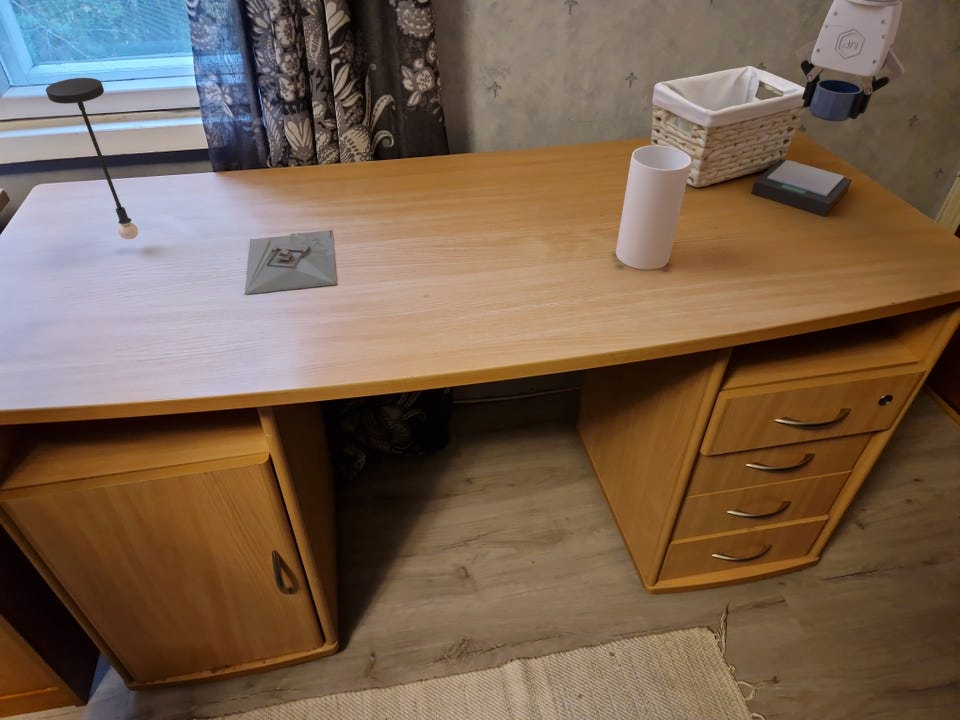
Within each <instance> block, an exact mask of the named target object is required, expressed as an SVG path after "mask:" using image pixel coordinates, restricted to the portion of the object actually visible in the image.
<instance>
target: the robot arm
mask: <svg viewBox="0 0 960 720" xmlns="http://www.w3.org/2000/svg"><path fill="white" fill-rule="evenodd" d="M903 4H904V3H903V1H901V0H833V1H832V3H831V6H830V8H829V9H828V12H827V15H826V16H825V19H824V21H823V24H822V26H821V28H820V31H819V34H818V36H817V38H815V39H813V40H811V41H809V42H808V43H806V44H804V45H802V46H801V47H798V48H797V49H796V50H795V55H796V58H797V61H798V63H799V64H800V68H801V70H802V72H803V74H804V76H805V80H806V84H805V86H804V88H805V90H804V94H803V97H802V99H803V100H805V101H804V104H803V107H805V109H806V108H809V104H810V101H811V98H812V95H813V92H814V89H815V86H816V83H817V82H818V81H820V80H821V78H820V76H821V74H822V73H823V71H824V70H827V71H830V72H831V71H832V72H834V73H835V72H836V73H840V74H845V75H850V76H854V77H860V78H861V81H862V89H863V90H862V92H861V93H859V95H858V98H857V100H856V103H855V106H854V108H853V111H852V114H851V116H850V118H849V119H851V120H856V119H857V118H858V117H860V115H861V114H862V115H863V114H864V113H865V112H866V111H867V108H868V105H869V103H870V100H871V98H872V95H873V93H874V92H876V91H879V90H880V89H882V88H884V87H886V86H887V85H888V84H890V83H891V82H894V81H895V80H897V79H898V78H899V77H901V76H902V75H903V74H904V73H905V71H906V69H905V68H904V66H903V64H902V63H901V61H900V59H899V58H898V57H897V54H896V53H895V51H894V50H893V49H892V48H893V45H894V42H895V38H896V35H897V31H898V27H899V24H900V20H901V15H902V10H903ZM810 52H812V53H811V56H810V55H809V54H810ZM885 66H887V67H888V69H889V72H888V73H887V74H885V75H884V76H882V77H880V78H878V76H877V75H878V74H879V72H881V70H883V69H884V68H885Z"/></svg>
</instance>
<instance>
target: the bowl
mask: <svg viewBox="0 0 960 720" xmlns="http://www.w3.org/2000/svg"><path fill="white" fill-rule="evenodd" d="M862 90H863V86H860V85H859V84H857V83H854V82H853V81H852V82H851V81H849V80H843V79H835V78H826V79H820V81H818V82H817V83H816V86H815V89H814V92H813V95H812V98H811V101H810V104H809V107H808V111H809V112H810V115H812V116H813V117H815V118H817V119H819V120H823V121H828V122H834V123H835V122H838V123H839V122H846V121H848V120H849V119H851V118H850V116H851V114H852V111H853V108H854V106H855V103H856V100H857V98H858V95H859V93H861V92H862Z"/></svg>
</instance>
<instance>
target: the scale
mask: <svg viewBox="0 0 960 720" xmlns="http://www.w3.org/2000/svg"><path fill="white" fill-rule="evenodd" d="M852 181H853V179H852V178H848V177H845V175H842V174H839V173H836V172H833V171H829V170H825V169H821V168H818V167H814V166H811V165H807V164H804V163H800V162H797V161H793V160H789V159H786V160H785V159H784V160H782V159H780V160H779V161H778V162H777V163H775V164H774V165H773V166H772V167H771V168H769V169H766V171H765V172H764V173H762V174H761V175H760V176H759V177H758V178H756V179H755V180H754V182H753V186H752V189H751V194H752V195H754V196H758V197H761V198H764V199H767V200H771V201H774V202H778V203H780V204H783V205H786V206H789V207H793V208H797V209H798V210H803V211H806V212H808V213H812V214H814V215H818V216H821V217H826V216H827V215H828V214H829V213H830V211H832V209H833V208H834V207H835V206H836V205H837V204H838V203H839V202H840V201H841V199H842V198H843V197H844V196H845V195H846V194H847V193H848V191H849V189H850V186H851V183H852Z"/></svg>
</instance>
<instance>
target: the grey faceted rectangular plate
mask: <svg viewBox="0 0 960 720" xmlns="http://www.w3.org/2000/svg"><path fill="white" fill-rule="evenodd" d="M333 285H337V273H336V261H335V250H334V238H333V230H332V229H330V230H319V231H310V232H307V231H306V232H300V233H290V234H289V235H280V236H269V237H259V238H250V239H249V246H248V256H247V267H246V278H245V288H244V294H245V295H251V294H260V293H269V292H279V291H287V290H289V291H290V290H296V289H297V290H298V289H306V288H316V287H326V286H333Z"/></svg>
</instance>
